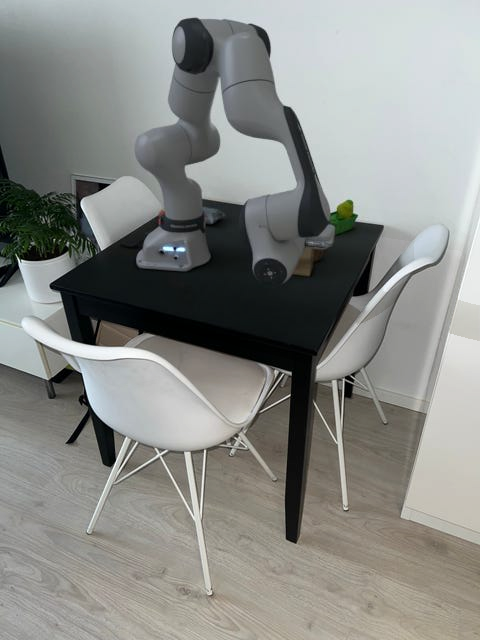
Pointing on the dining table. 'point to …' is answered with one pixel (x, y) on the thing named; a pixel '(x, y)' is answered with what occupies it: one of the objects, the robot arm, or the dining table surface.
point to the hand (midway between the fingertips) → (297, 221)
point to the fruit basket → (343, 217)
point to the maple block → (305, 263)
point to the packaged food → (212, 215)
